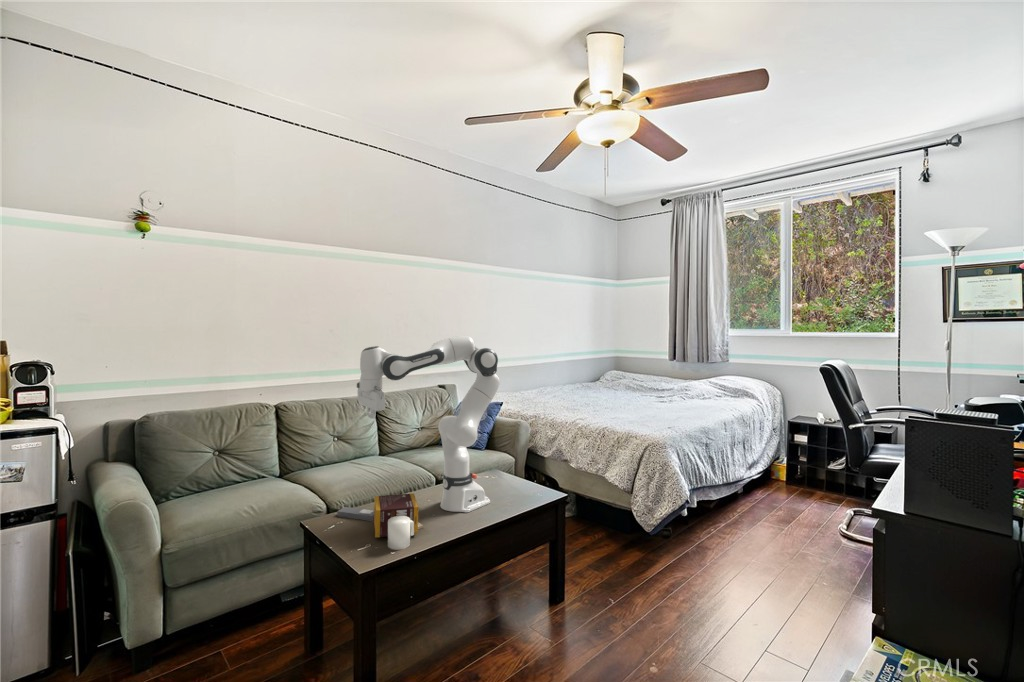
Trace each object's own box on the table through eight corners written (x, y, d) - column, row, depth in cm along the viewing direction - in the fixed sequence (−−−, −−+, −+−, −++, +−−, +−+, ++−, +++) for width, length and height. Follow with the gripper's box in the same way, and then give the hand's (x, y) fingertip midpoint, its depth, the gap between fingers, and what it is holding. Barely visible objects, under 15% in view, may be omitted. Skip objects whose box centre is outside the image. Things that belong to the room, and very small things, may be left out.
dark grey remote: (337, 517, 197) (337, 510, 197) (344, 512, 202) (344, 505, 202) (371, 521, 193) (371, 514, 193) (378, 517, 198) (378, 510, 198)
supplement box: (375, 510, 174) (418, 506, 179) (374, 495, 189) (414, 492, 194) (375, 538, 175) (418, 533, 180) (373, 521, 189) (413, 517, 194)
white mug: (407, 536, 180) (407, 513, 179) (417, 544, 173) (417, 520, 173) (384, 543, 174) (384, 519, 174) (393, 551, 168) (393, 526, 167)
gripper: (389, 387, 192) (389, 421, 193) (368, 382, 208) (369, 413, 209) (374, 388, 188) (374, 423, 189) (354, 383, 204) (355, 415, 205)
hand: (371, 418), depth 199 cm, fingers closed
